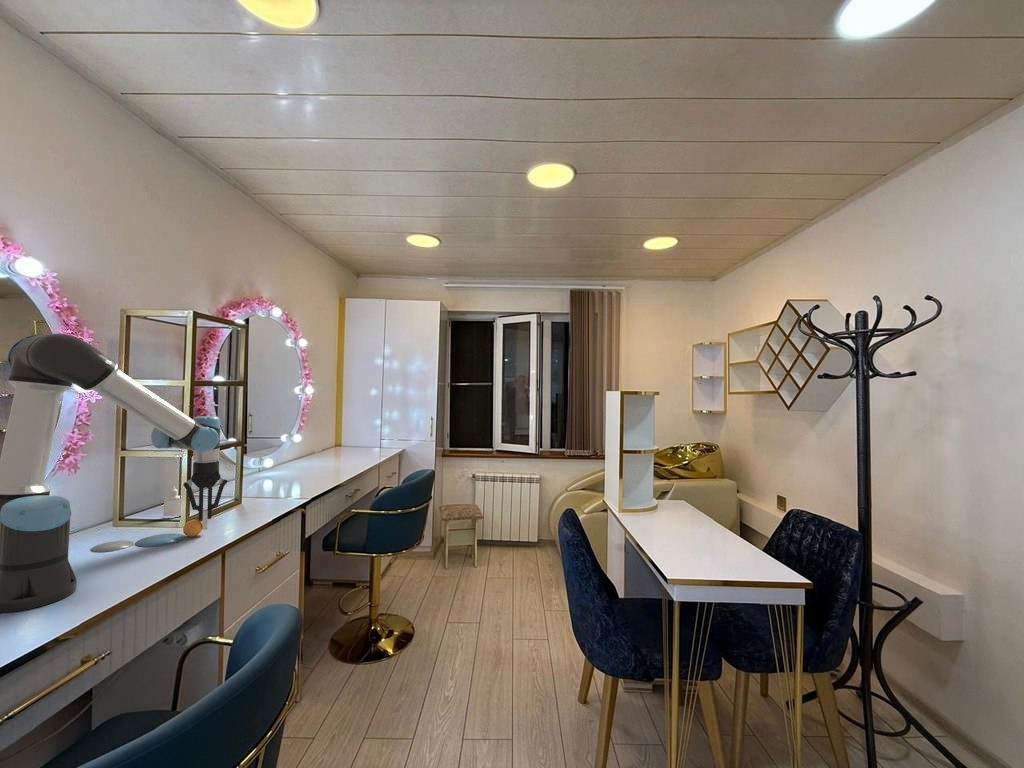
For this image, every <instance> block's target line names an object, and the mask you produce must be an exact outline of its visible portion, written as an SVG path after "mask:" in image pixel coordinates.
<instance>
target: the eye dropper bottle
mask: <svg viewBox="0 0 1024 768" xmlns="http://www.w3.org/2000/svg"><path fill="white" fill-rule="evenodd" d="M178 494H179V490H178V489H176V486H172V489H170V490H169V496H166V497H165V498H164V503H163V504H164V505H163V517H164V516H175V515H178V514H179V508H180V496H181V495H178Z"/></svg>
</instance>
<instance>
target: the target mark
mask: <svg viewBox="0 0 1024 768" xmlns="http://www.w3.org/2000/svg"><path fill="white" fill-rule="evenodd" d="M185 537H186V535H185V534H184V533H183V534H182V533H172V532H171V533H161V534H155V535H150V536H146V537H143V538H141V539H139V540H136V541H135V546H136V547H139V548H156V547H164V545H165V546H170V545H173V544H176V543H180V542H181V541H183V540H185Z"/></svg>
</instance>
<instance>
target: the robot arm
mask: <svg viewBox="0 0 1024 768" xmlns="http://www.w3.org/2000/svg"><path fill="white" fill-rule="evenodd" d="M6 362H7V364H8V366H9V368H10V371H9V377H8V380H7V381H8V384H9V385H11V386H12V387H13V388H14V392H13V398H12V403H11V408H10V412H9V417H8V421H7V426H6V430H5V435H4V440H3V445H2V449H1V455H0V614H2V613H12V612H20V611H26V610H31V609H35V608H40V607H42V606H47V605H50V604H52V603H55V602H59V601H60V600H63V599H65V598H67V597H69V596H70V595H72V594H73V593H75V592H76V590H77V585H78V584H77V581H78V579H77V578H76V576H75V573H74V570H73V568H72V566H71V563H70V561H69V549H70V548H69V546H70V545H69V544H70V530H71V518H72V517H71V516H72V509H71V504H70V503H71V502H70V501H69V500H68V499H67V498H65V497H62V496H57V495H50V494H51V488H50V487H49V486H47V485H46V484H45V479H46V474H47V469H48V463H49V459H50V455H51V450H52V449H51V448H52V445H53V440H54V435H55V431H56V426H57V421H58V414H59V410H60V405H61V401H62V396H63V394H64V393H65V392H67V391H68V390H70V389H72V386H73V385H76V386H78V387H80V388H81V389H82V390H84V391H94V392H96V393H98V394H99V395H101V396H102V397H104V398H106V399H107V400H109V401H110V402H112V403H114V404H116V405H117V406H119V407H121V408H122V409H124V410H126V411H128V413H130V414H132V415H133V416H135V417H137V418H139V419H140V420H141V421H143V422H145V423H147V424H148V425H150V426H151V427H153V428H152V431H151V435H150V436H151V437H150V439H151V443H152V444H153V446H154V448H156V449H169V448H174V449H175V448H176V449H184V450H189V451H193V455H192V460H193V461H194V462H193V463H192V468H193V469H192V475H191V477H190V479H188V480H187V481H184V482H183V487H184V488H185V489H186V492H187V495H188V497H189V502H190V505H191V508H192V510H194V511H198V521H202V531H207V530H208V520H211V519H212V513H213V509H215V508H218V507H219V503H220V500H221V497H222V493H223V490H224V488H225V486H226V485H227V483H228V478H224V477H222V476H221V474H220V461H219V459H220V449H221V448H220V445H221V444H220V443H221V420H220V417H218V416H214V415H212V416H211V415H204V416H203V415H202V416H201V415H200V416H195V417H194V419H193V418H191V416H189V415H187V414H186V413H184V412H183V411H181V410H179V409H178V408H177V407H175V406H174V405H173V404H171V403H169V402H168V401H166V399H163V398H162V397H161V396H159V395H158V394H156V393H155V392H153V391H152V390H150V389H149V388H148V387H145V385H142V384H141V383H140V382H138V381H136V379H134V378H132V377H130V376H129V375H128V374H126V373H125V372H123V371H122V370H120V369H119V368H118V367H119V366H118V363H117V362H116V361H114V360H113V359H112V358H110V357H108V356H107V355H106V354H104V353H103V352H102V351H100V350H99V349H97V348H96V347H94V346H93V345H92V344H90V343H89V342H87V341H85V340H83V339H82V338H79V337H78V336H74V335H72V334H67V333H48V334H47V333H38V334H37V333H36V334H32V335H27V336H25V337H23V338H20V339H18V340H16V341H15V342H13V343H12V345H10V347H9V348H8V350H7V353H6ZM217 482H218V483H219V487H218V489H217V493H216V496H215V499H214V503H213V487H214V486H215V485H216V484H217ZM193 484H194V485H195V486H196V487H197V489H198V505H197V501H196V499H195V495H194V491H193V488H192V486H193ZM205 488H206V489H207V508H204V489H205Z"/></svg>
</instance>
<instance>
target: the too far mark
mask: <svg viewBox="0 0 1024 768" xmlns="http://www.w3.org/2000/svg"><path fill="white" fill-rule="evenodd" d="M131 545H132V546H133V545H134V541H132V540H113V541H108V542H103V543H99V544H97V545H94V546H93V547H91V548H90V549H91V550H92V551H91V552H93V551H94V553H109V551H110V552H115V551H114V550H116V551H119V550H120V549H121V550H124V549H127V548H129V546H130V547H131Z"/></svg>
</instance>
